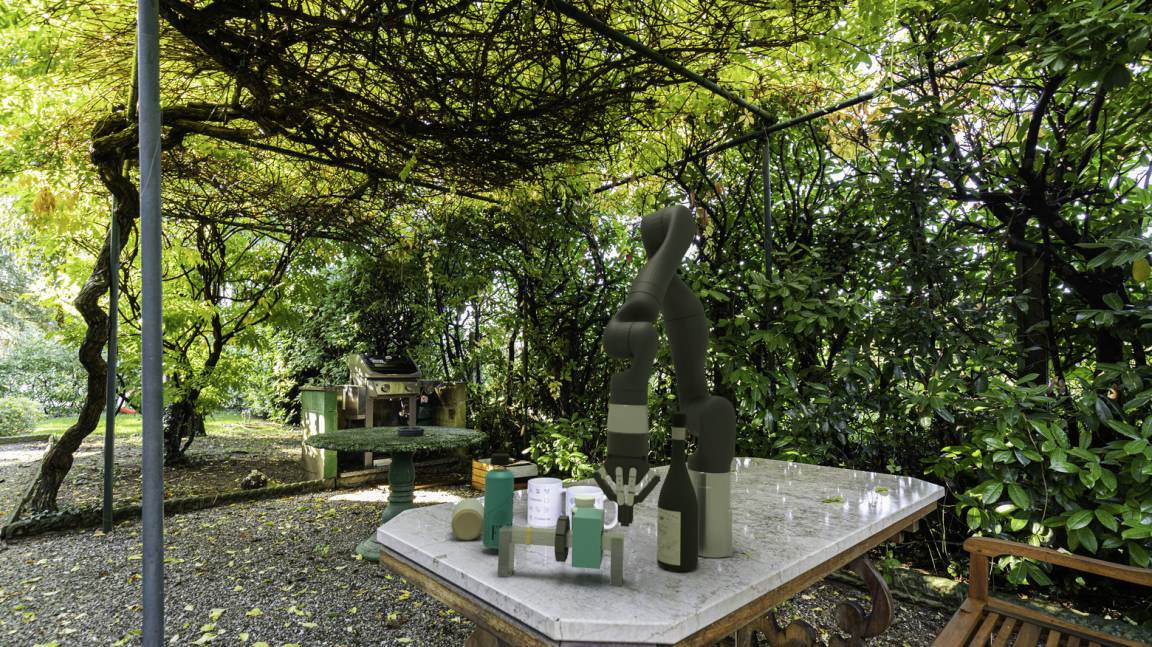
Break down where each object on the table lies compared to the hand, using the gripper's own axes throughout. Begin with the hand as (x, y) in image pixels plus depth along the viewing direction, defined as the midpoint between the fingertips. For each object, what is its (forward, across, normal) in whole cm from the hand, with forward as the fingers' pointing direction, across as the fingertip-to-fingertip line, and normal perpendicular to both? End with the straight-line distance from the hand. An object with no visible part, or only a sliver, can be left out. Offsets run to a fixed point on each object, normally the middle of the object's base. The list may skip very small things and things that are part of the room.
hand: (624, 525), depth 102 cm
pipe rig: (+10, +12, 0) cm, 15 cm away
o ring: (+7, +11, 0) cm, 13 cm away
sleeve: (+7, +7, 0) cm, 10 cm away
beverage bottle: (+10, +27, -12) cm, 31 cm away
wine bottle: (+10, -10, -11) cm, 18 cm away
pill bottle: (+10, +10, -22) cm, 26 cm away
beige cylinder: (+11, +35, -21) cm, 42 cm away
